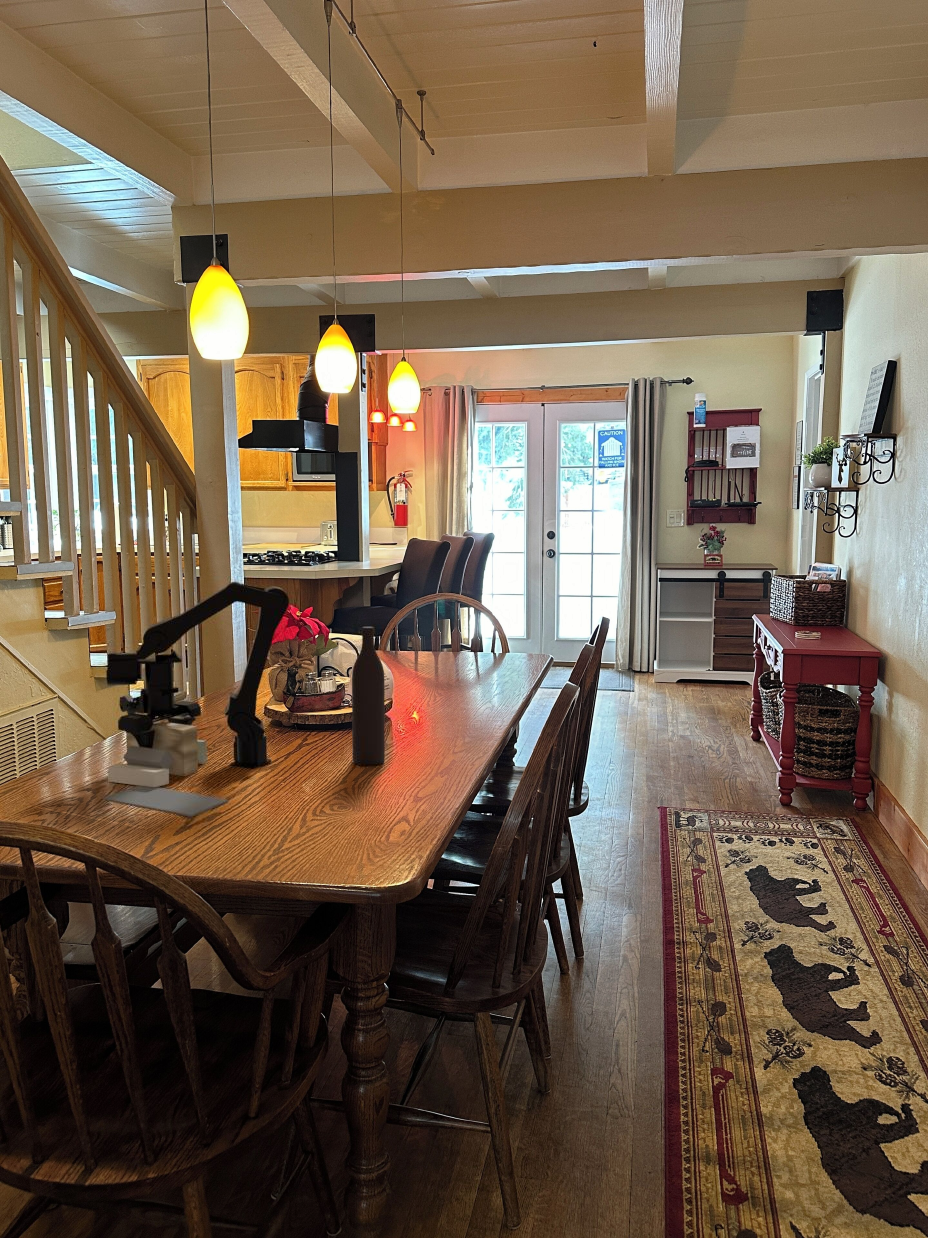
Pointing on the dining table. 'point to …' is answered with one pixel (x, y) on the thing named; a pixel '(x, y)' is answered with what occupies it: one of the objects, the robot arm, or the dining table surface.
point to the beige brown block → (174, 745)
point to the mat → (166, 800)
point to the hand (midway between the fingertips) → (162, 755)
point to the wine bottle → (368, 704)
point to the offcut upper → (148, 757)
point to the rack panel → (202, 751)
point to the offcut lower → (138, 775)
